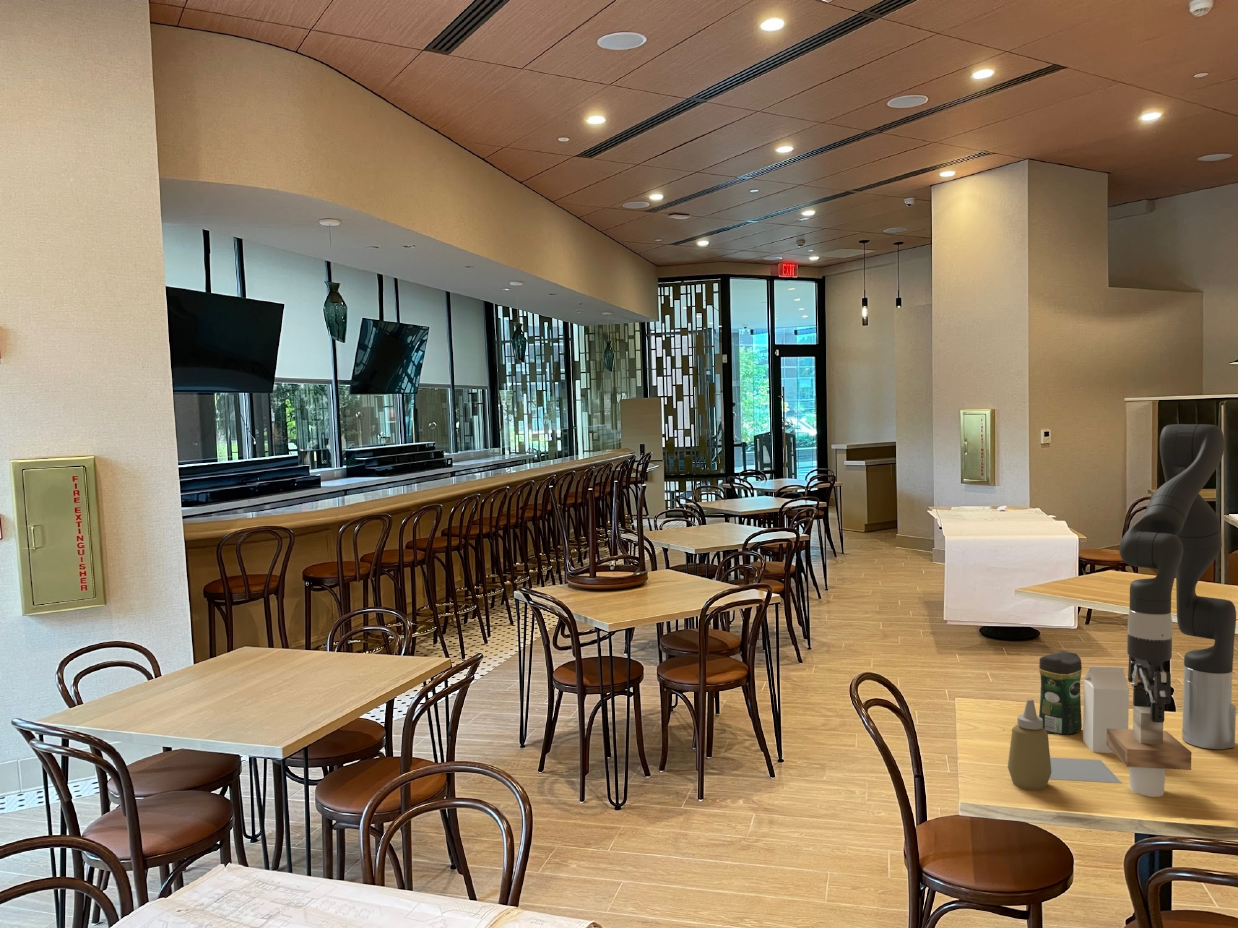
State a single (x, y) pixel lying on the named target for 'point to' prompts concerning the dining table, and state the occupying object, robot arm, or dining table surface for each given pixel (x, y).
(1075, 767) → the rubber mat
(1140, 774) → the white cup
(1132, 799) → the dining table surface
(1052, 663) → the coffee jar
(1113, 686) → the milk carton
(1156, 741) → the tan plate with knob
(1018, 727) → the squeeze bottle
